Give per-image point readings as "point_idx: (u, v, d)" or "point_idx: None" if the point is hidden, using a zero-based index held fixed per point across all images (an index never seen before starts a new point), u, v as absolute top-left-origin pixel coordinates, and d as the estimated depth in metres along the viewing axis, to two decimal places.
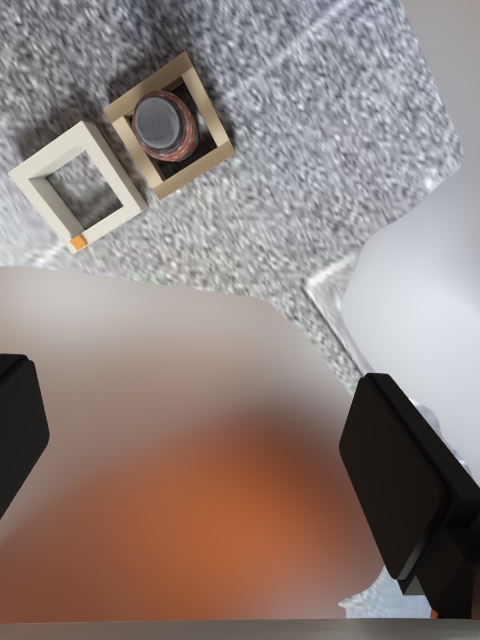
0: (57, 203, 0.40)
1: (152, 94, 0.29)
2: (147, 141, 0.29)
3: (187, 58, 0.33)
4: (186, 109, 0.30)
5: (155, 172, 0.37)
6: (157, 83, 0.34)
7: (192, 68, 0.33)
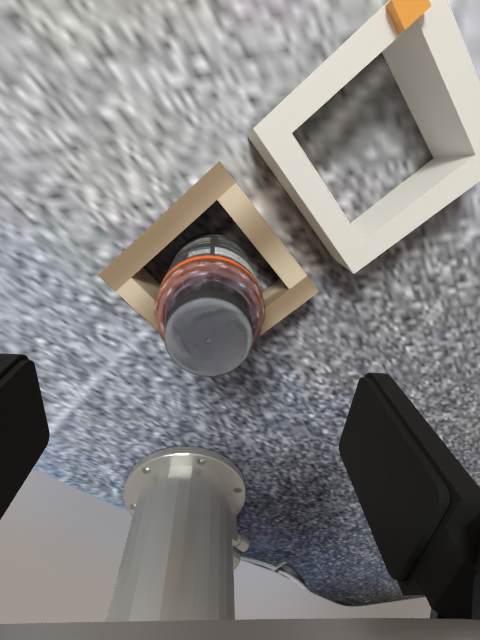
0: (427, 109, 0.19)
1: None
2: (225, 307, 0.14)
3: None
4: None
5: (232, 214, 0.20)
6: None
7: None
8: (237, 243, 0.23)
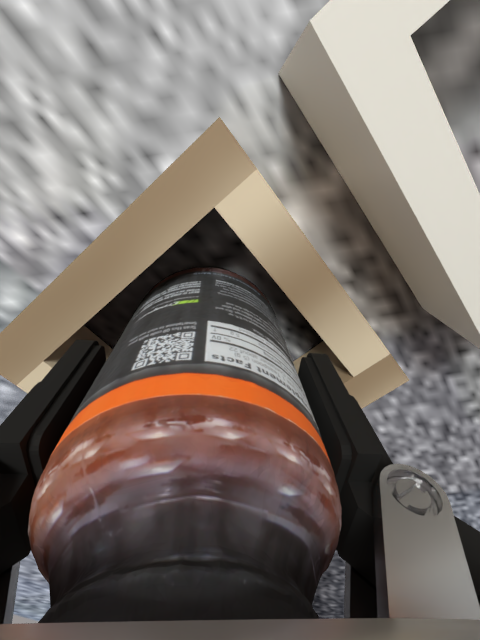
0: None
1: None
2: None
3: None
4: None
5: (248, 238, 0.09)
6: None
7: None
8: (252, 284, 0.12)
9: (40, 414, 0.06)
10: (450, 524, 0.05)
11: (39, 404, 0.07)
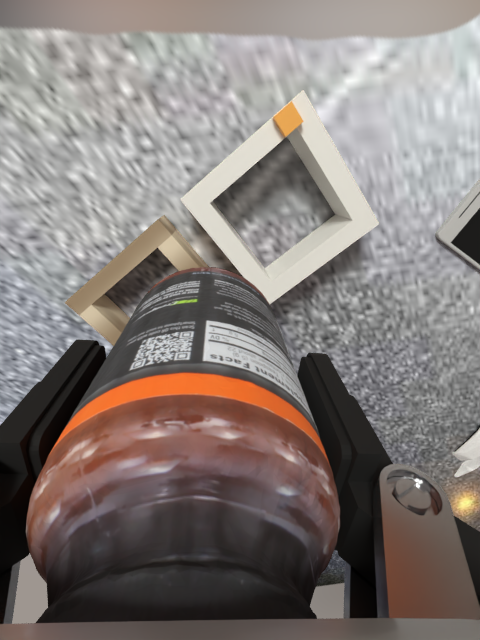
0: (321, 182, 0.25)
1: None
2: None
3: None
4: None
5: (170, 258, 0.25)
6: None
7: None
8: (252, 284, 0.12)
9: (40, 415, 0.06)
10: (450, 524, 0.05)
11: (39, 404, 0.07)
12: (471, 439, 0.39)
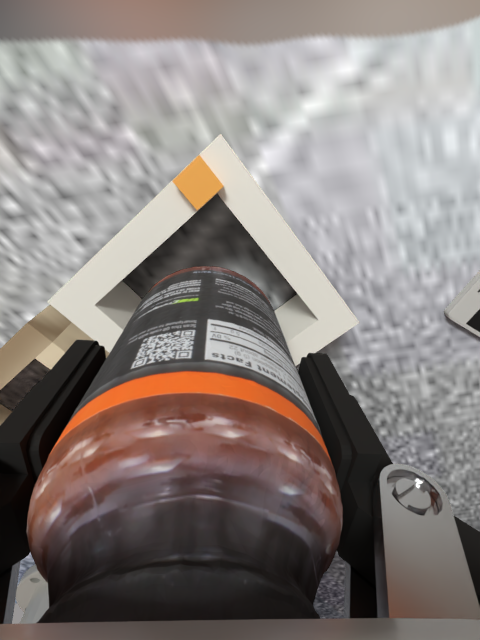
0: None
1: None
2: None
3: None
4: None
5: None
6: None
7: None
8: (253, 283, 0.12)
9: (40, 414, 0.06)
10: (450, 524, 0.05)
11: (39, 404, 0.07)
12: None
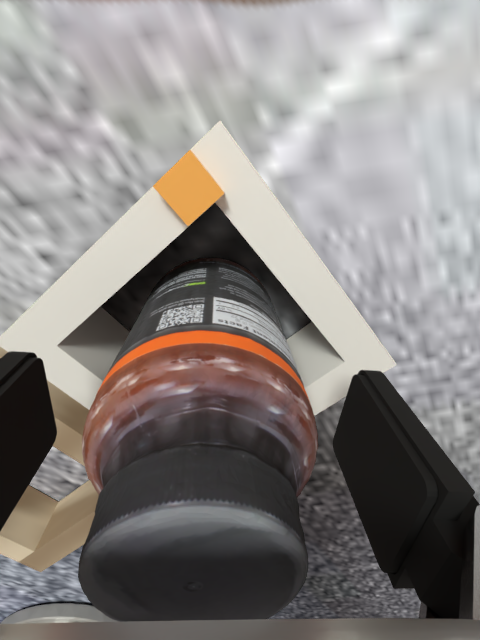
0: None
1: None
2: (241, 524, 0.05)
3: (33, 566, 0.19)
4: None
5: None
6: (71, 536, 0.18)
7: (18, 560, 0.19)
8: (250, 272, 0.14)
9: None
10: None
11: None
12: None
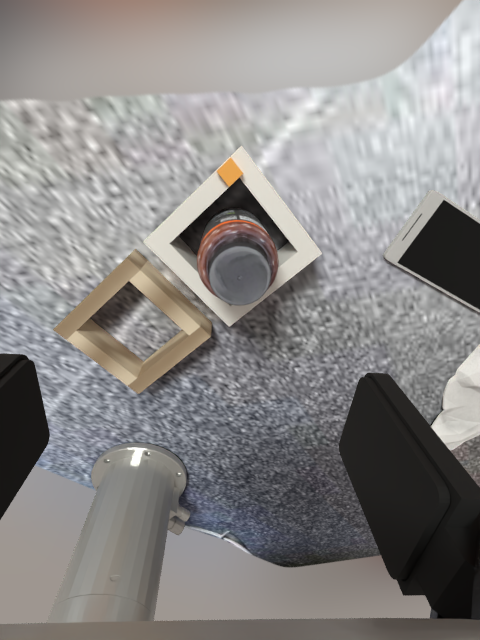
0: None
1: None
2: (252, 252, 0.19)
3: (135, 389, 0.34)
4: None
5: (141, 289, 0.29)
6: (158, 367, 0.33)
7: (127, 384, 0.34)
8: None
9: None
10: None
11: None
12: None
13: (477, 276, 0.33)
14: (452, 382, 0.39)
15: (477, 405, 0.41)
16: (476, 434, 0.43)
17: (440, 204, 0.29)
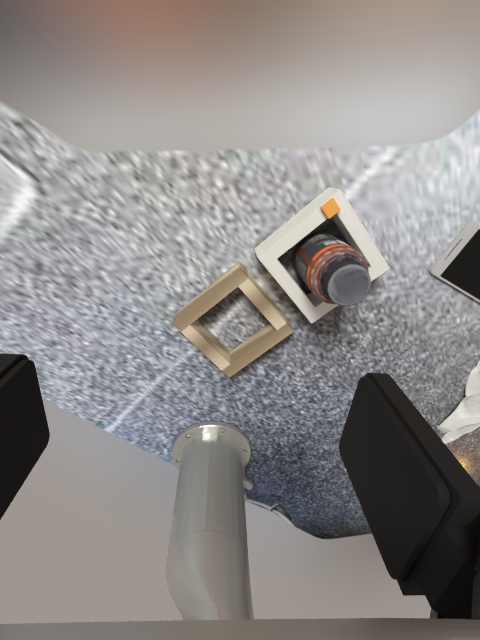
0: (349, 239, 0.36)
1: None
2: (360, 269, 0.28)
3: (226, 374, 0.42)
4: (316, 295, 0.31)
5: (246, 293, 0.37)
6: (248, 355, 0.41)
7: (222, 369, 0.42)
8: None
9: None
10: None
11: None
12: (451, 415, 0.51)
13: None
14: (473, 373, 0.48)
15: None
16: None
17: (476, 232, 0.38)
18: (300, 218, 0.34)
